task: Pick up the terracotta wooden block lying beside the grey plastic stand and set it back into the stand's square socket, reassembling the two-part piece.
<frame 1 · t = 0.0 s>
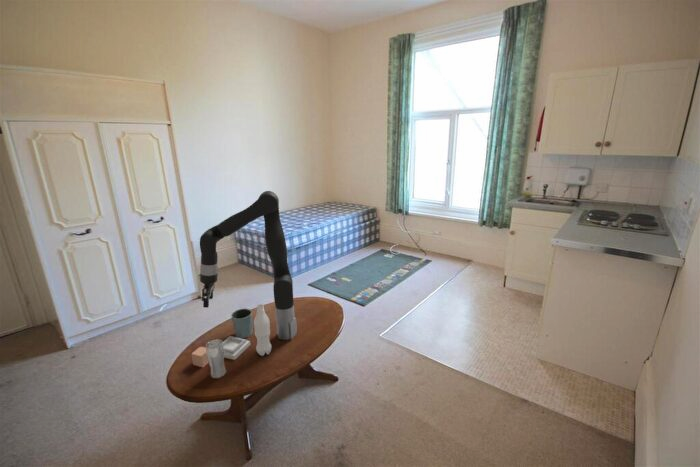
hand: (208, 302, 153), 22 cm above the table, tool pointing down, fingers open, 8 cm apart
beer glass: (218, 373, 138), on the table
water bottle: (264, 352, 152), on the table
grey stand: (232, 349, 154), on the table
terracotta block: (202, 362, 145), on the table
teal cup: (243, 333, 167), on the table
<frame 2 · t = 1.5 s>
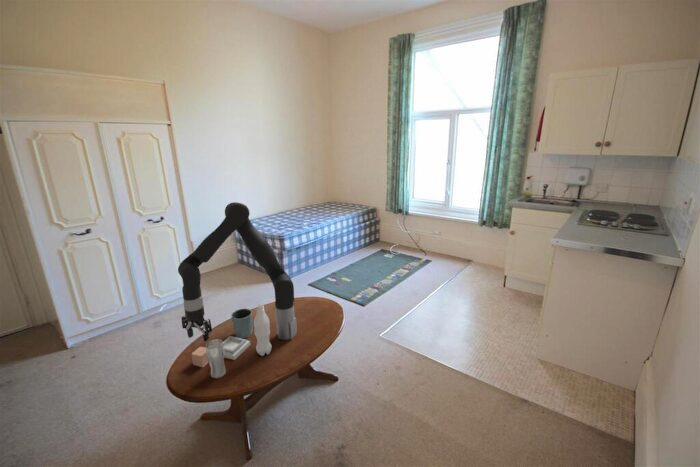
hand: (198, 338, 142), 12 cm above the table, tool pointing down, fingers open, 8 cm apart
nothing on the table moved.
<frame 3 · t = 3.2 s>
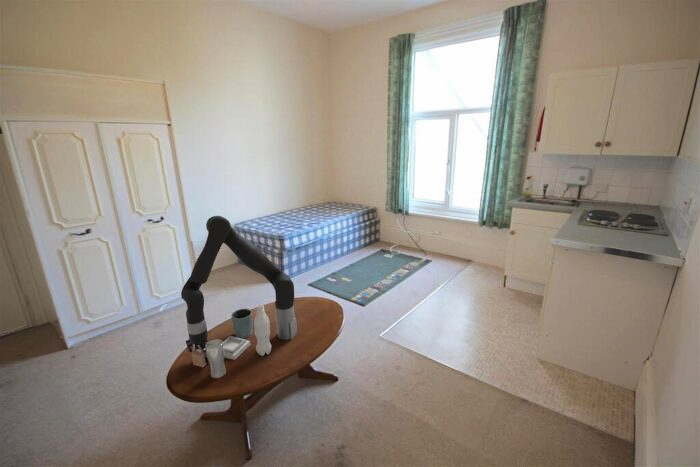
hand: (202, 361, 145), 1 cm above the table, tool pointing down, fingers closed on terracotta block, 5 cm apart
terracotta block: (202, 362, 145), on the table, touching gripper
everything else where it was.
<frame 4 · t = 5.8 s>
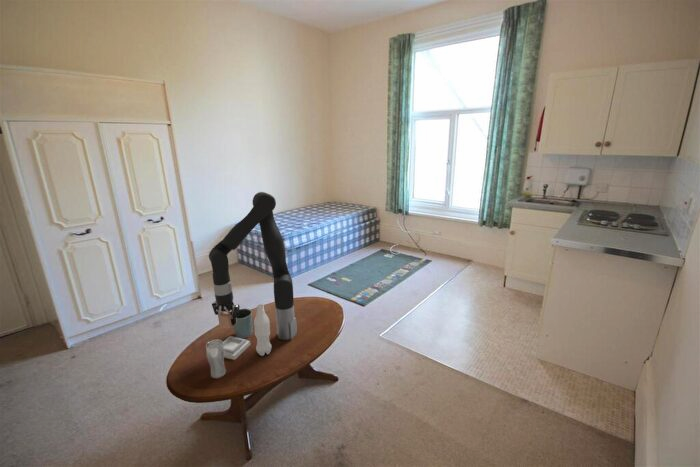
hand: (228, 323, 149), 15 cm above the table, tool pointing down, fingers closed on terracotta block, 5 cm apart
terracotta block: (228, 324, 149), point 14 cm above the table, touching gripper
everything else where it was.
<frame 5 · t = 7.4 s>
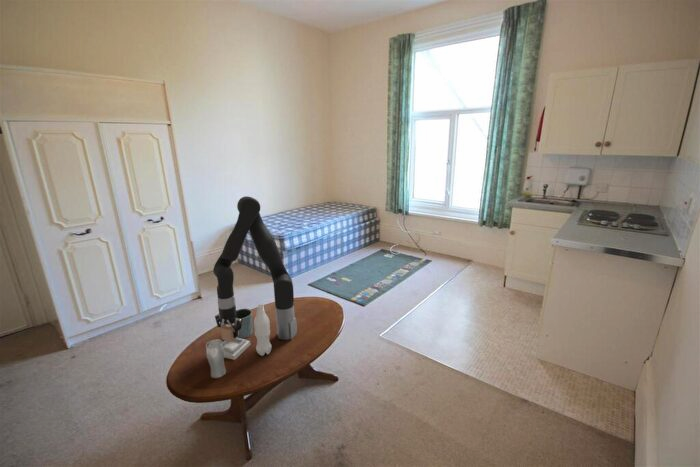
hand: (230, 335, 152), 8 cm above the table, tool pointing down, fingers closed on terracotta block, 5 cm apart
terracotta block: (230, 337, 152), point 7 cm above the table, touching gripper
everything else where it was.
when the fingers open (5 cm above the table, at t = 8.8 s): terracotta block drops 2 cm, resting on grey stand.
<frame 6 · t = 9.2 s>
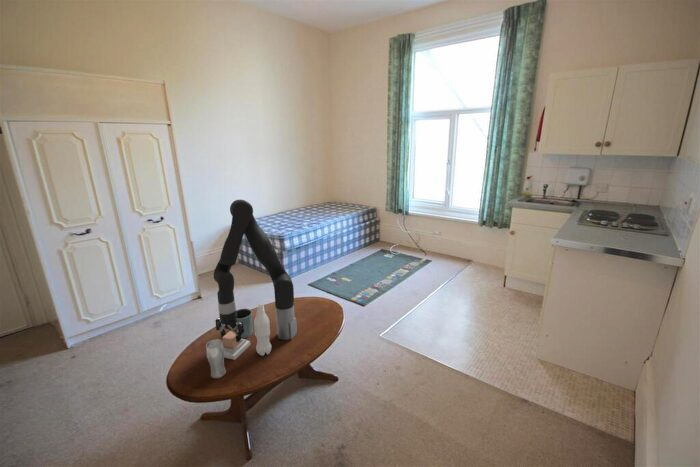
hand: (231, 339, 152), 6 cm above the table, tool pointing down, fingers open, 8 cm apart
terracotta block: (232, 345, 153), point 2 cm above the table, touching grey stand
everything else where it was.
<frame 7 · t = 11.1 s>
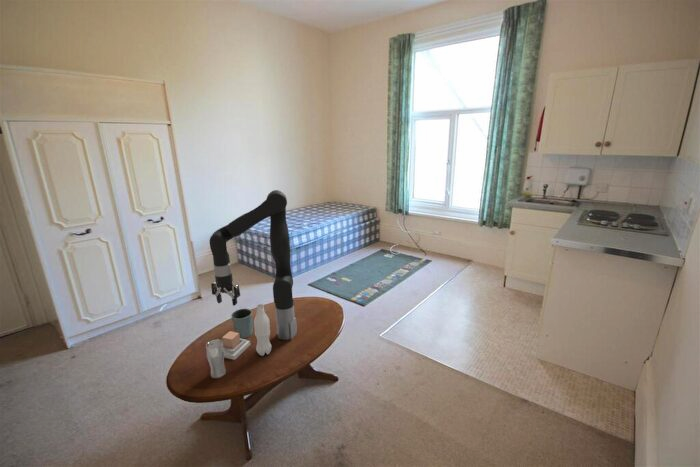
hand: (227, 303, 154), 22 cm above the table, tool pointing down, fingers open, 8 cm apart
nothing on the table moved.
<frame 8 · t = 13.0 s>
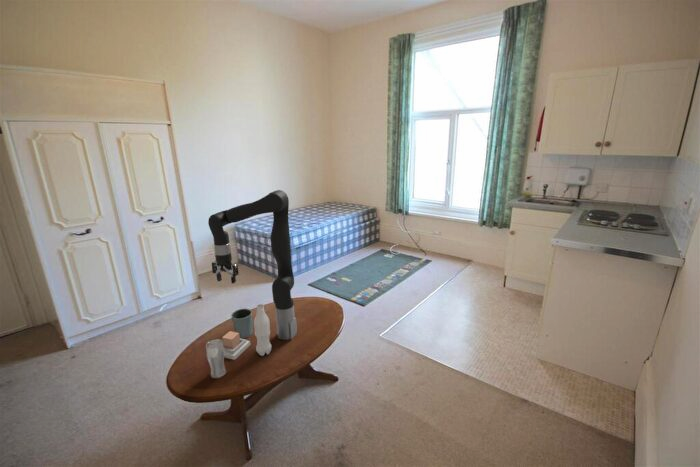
hand: (226, 281, 162), 28 cm above the table, tool pointing down, fingers open, 8 cm apart
nothing on the table moved.
at the end: terracotta block 0.1 cm off-centre on the grey stand, point 2.0 cm above the grey stand's base; terracotta block tilted 0°; the gripper is holding nothing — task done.
